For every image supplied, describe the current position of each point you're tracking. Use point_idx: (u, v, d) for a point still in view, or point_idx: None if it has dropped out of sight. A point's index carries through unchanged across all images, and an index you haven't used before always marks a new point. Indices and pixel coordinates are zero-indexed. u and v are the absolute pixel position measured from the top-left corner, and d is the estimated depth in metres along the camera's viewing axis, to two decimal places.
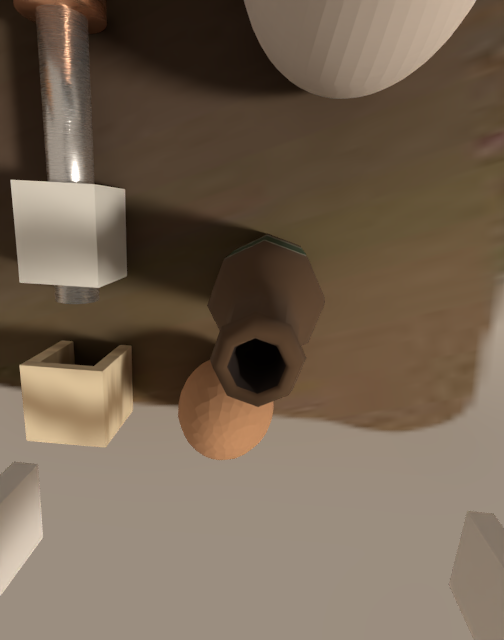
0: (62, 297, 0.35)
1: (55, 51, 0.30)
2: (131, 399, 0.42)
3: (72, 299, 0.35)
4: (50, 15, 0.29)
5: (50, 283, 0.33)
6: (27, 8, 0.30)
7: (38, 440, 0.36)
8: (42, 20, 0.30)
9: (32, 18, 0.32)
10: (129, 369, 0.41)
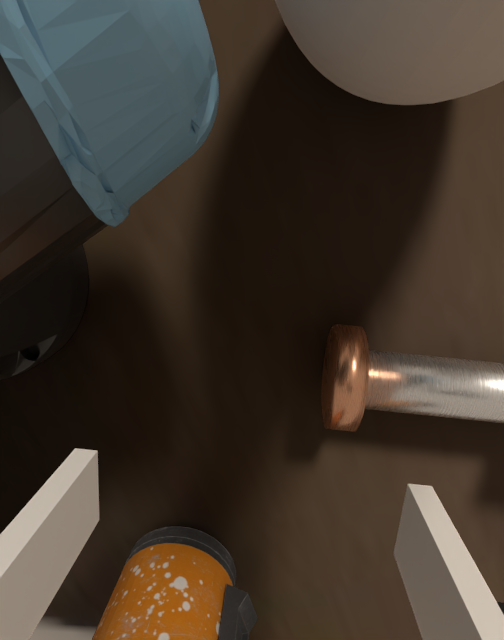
0: None
1: (414, 391, 0.23)
2: None
3: None
4: (373, 390, 0.23)
5: None
6: None
7: None
8: (375, 401, 0.24)
9: None
10: None
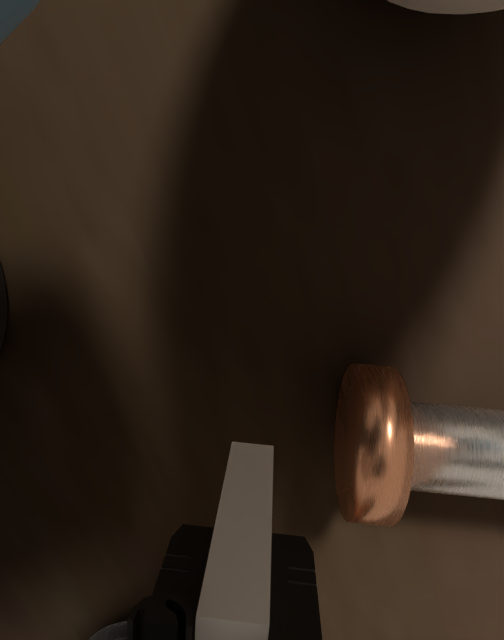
0: None
1: (478, 471, 0.15)
2: None
3: None
4: (416, 469, 0.15)
5: None
6: None
7: None
8: (419, 483, 0.16)
9: None
10: None
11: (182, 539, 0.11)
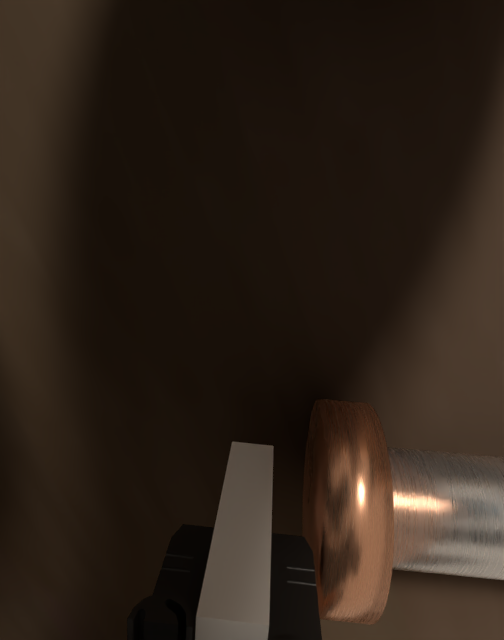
0: None
1: (483, 549, 0.11)
2: None
3: None
4: (400, 547, 0.12)
5: None
6: None
7: None
8: (404, 564, 0.12)
9: None
10: None
11: (182, 539, 0.11)
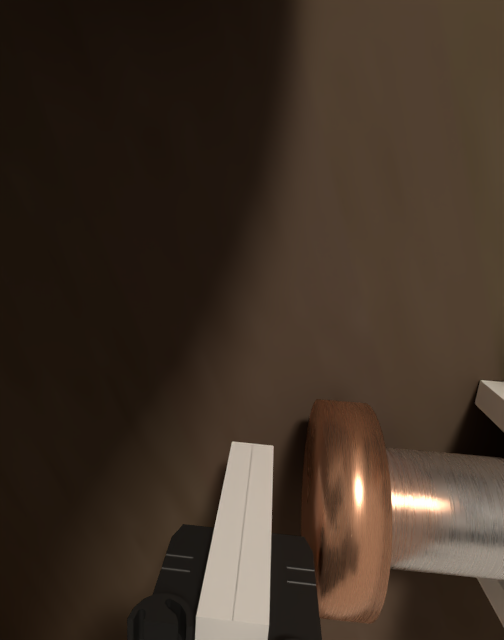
0: None
1: (480, 549, 0.11)
2: None
3: None
4: (398, 547, 0.12)
5: None
6: None
7: None
8: (402, 563, 0.12)
9: None
10: None
11: (182, 539, 0.11)
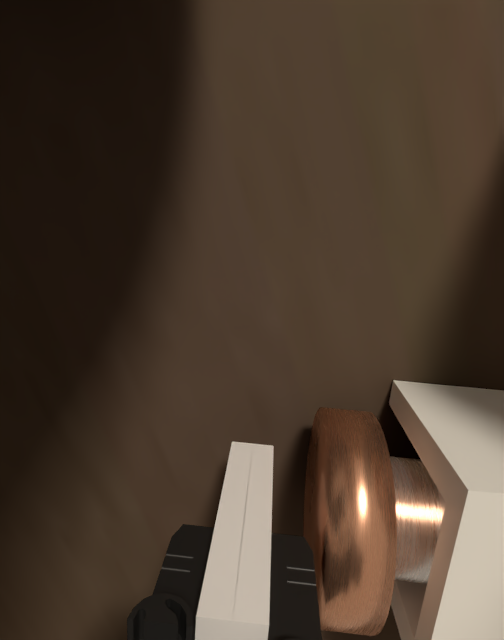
0: None
1: None
2: None
3: None
4: (402, 558, 0.11)
5: None
6: None
7: None
8: (406, 575, 0.12)
9: None
10: None
11: (182, 539, 0.11)
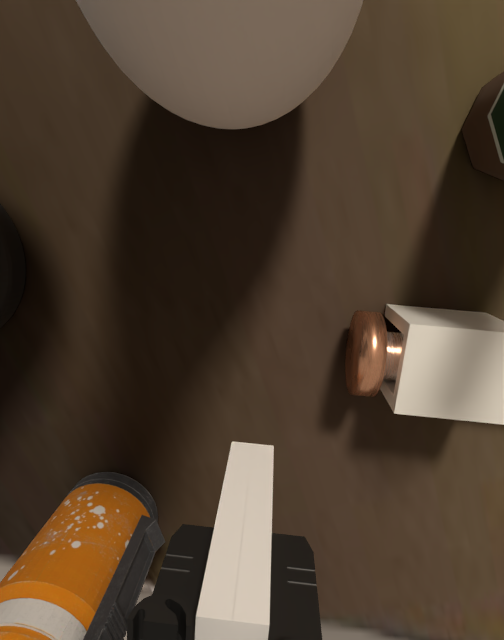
0: None
1: None
2: None
3: None
4: (390, 362, 0.29)
5: None
6: None
7: None
8: (391, 371, 0.30)
9: None
10: None
11: (182, 539, 0.11)
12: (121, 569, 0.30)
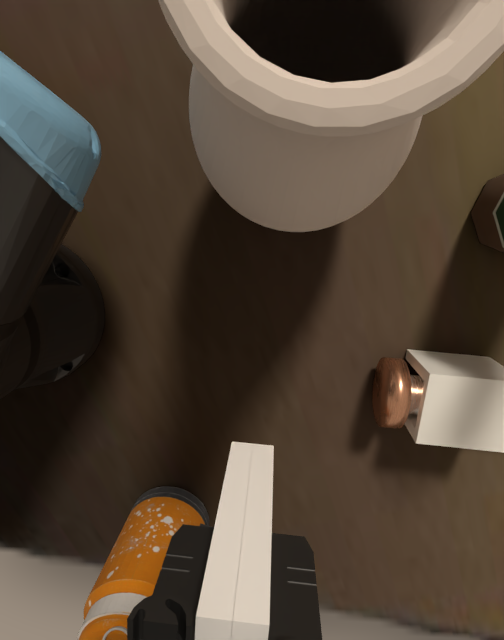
0: None
1: None
2: None
3: None
4: (412, 402, 0.36)
5: None
6: None
7: None
8: (413, 408, 0.36)
9: None
10: None
11: (182, 539, 0.11)
12: None
